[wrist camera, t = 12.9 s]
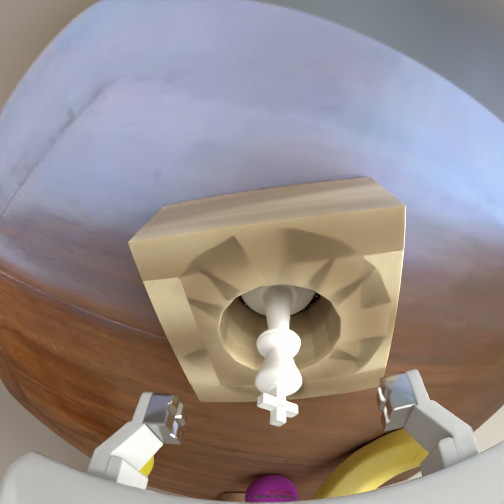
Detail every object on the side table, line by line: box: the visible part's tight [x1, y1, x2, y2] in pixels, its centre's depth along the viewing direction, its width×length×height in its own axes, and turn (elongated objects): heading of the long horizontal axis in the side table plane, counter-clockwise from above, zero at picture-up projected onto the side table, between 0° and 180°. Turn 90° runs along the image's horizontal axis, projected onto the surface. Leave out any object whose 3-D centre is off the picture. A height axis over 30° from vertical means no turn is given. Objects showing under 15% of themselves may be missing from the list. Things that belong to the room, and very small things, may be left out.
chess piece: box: [241, 284, 315, 427], centre depth 14 cm, size 5×5×10 cm
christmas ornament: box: [245, 475, 298, 502], centre depth 32 cm, size 8×8×10 cm
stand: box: [128, 177, 406, 402], centre depth 16 cm, size 12×12×5 cm
